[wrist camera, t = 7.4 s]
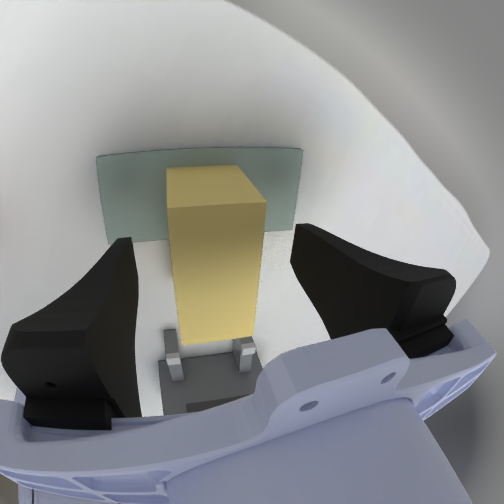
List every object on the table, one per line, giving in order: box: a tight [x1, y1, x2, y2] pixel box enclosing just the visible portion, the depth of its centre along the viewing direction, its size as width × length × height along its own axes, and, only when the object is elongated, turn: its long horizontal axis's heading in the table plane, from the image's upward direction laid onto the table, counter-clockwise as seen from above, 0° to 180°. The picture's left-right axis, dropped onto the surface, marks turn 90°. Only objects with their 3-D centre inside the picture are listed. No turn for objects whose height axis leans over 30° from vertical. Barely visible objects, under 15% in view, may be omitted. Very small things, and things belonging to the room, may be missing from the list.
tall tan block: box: [166, 165, 267, 345], centre depth 16 cm, size 4×8×6 cm, turn 175°
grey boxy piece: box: [158, 330, 263, 415], centre depth 23 cm, size 9×10×6 cm
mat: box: [96, 147, 303, 245], centre depth 17 cm, size 12×6×1 cm, turn 85°
